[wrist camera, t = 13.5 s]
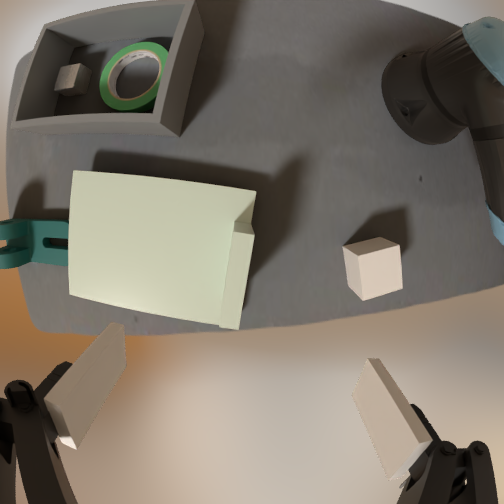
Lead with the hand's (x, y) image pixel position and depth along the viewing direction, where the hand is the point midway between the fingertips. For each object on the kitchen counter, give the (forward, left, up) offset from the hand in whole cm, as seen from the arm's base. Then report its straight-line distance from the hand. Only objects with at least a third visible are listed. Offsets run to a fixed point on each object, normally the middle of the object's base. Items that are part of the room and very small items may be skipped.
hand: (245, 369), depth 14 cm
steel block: (+30, -23, -25) cm, 45 cm away
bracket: (+33, +3, -25) cm, 42 cm away
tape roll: (+19, -23, -26) cm, 39 cm away
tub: (+23, -23, -25) cm, 41 cm away
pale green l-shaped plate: (+13, 0, -25) cm, 28 cm away
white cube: (-17, -2, -25) cm, 30 cm away
